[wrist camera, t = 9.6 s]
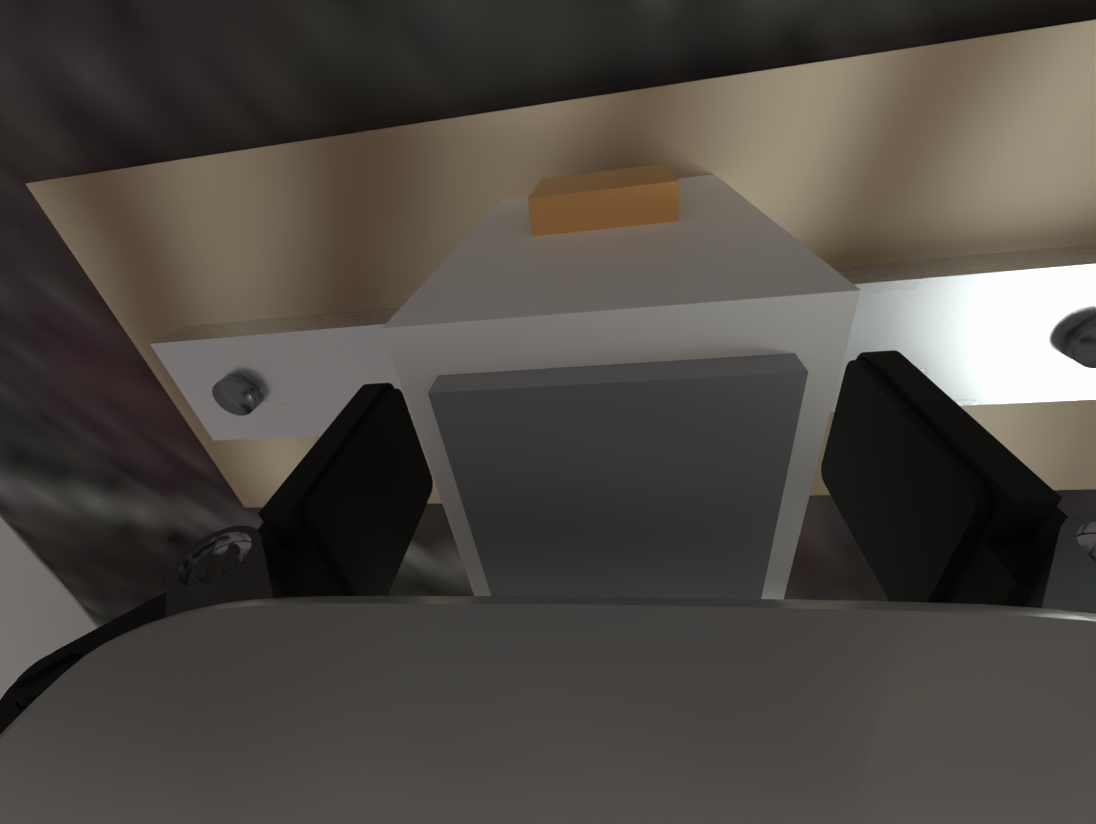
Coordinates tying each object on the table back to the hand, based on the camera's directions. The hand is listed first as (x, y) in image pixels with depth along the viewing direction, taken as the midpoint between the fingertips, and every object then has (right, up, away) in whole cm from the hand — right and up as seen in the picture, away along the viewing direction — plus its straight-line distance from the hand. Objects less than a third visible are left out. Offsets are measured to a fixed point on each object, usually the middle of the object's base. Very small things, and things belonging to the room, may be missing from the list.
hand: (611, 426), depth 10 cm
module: (0, +2, +3) cm, 4 cm away
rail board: (0, +3, +4) cm, 5 cm away
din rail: (0, +3, +4) cm, 5 cm away
